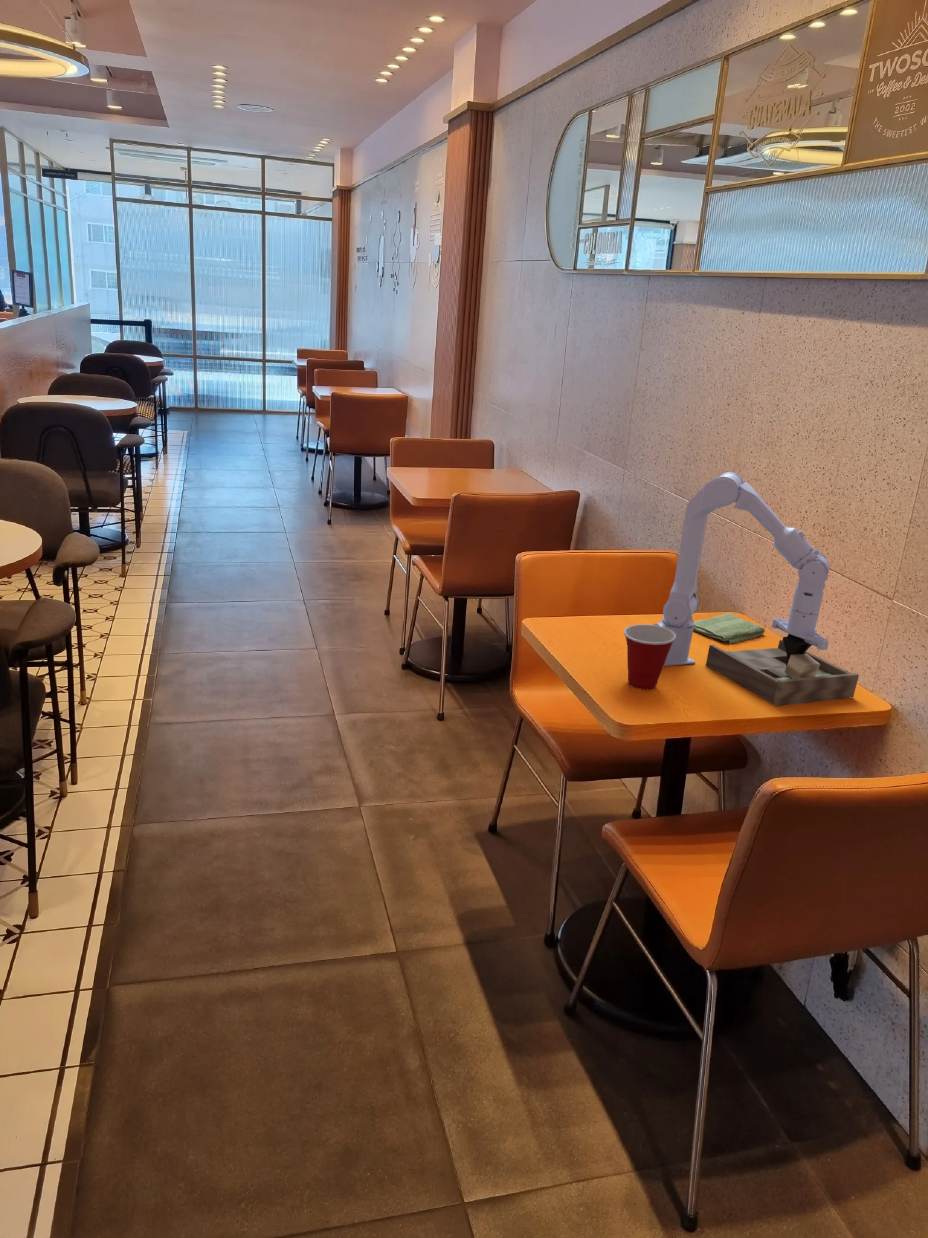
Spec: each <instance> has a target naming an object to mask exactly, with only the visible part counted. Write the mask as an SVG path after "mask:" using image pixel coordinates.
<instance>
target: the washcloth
mask: <svg viewBox="0 0 928 1238" xmlns="http://www.w3.org/2000/svg"><path fill="white" fill-rule="evenodd" d="M693 632H696V633H699V634H701V635H704V636H706V637H707V636H708V637H710V638H711V639H716V640H719V641H722V642H724V643H726V644H727V645H733V644H737V643H741V642H744V641H748V640H751V639H754V638H758V636H759V637H762V636H763V635H764V633H765V632H766V629H765V627H763V626H760V625H758V624H757V623H753V622H751V621H747V620H745V619H742V618H740V617H739V616H736V615H734V614H733V613H732V614H731V613H729V612H727V613H724V614H721V615H715V616H712V617H709V618H705V619H704V618H703V619H697V620H695V621H694V628H693ZM761 635H762V636H761Z"/></svg>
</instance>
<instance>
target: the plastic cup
mask: <svg viewBox="0 0 928 1238" xmlns="http://www.w3.org/2000/svg"><path fill="white" fill-rule="evenodd" d="M623 635H624V636H625V640H626V646H627V650H626V651H627V654H626V655H627V681H628V682H629V683H628V684H629V685H630V686H631V685H632V686H631V687H633V688H635V687H636V689H638V688H641V689H640V690H644V691H645V690H646V689H647V690H653V689H655V688H656V686H657V684H658V683H659V679H660V675H661V674H662V672H663V669H664V667H665V666H664V664H665V661H666V658H667V655H668V652H669V651H670V648H671V646H672V643H673V641H674V640H675V639H676V634H675V633H674V632H673V631H672V630H669V629H667V628H665V627H660V626H656V625H653V624H646V623H644V624H643V623H642V624H633V625H628V626H627V627H625V628H624V629H623ZM647 690H646V691H647Z"/></svg>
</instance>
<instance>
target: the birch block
mask: <svg viewBox="0 0 928 1238" xmlns="http://www.w3.org/2000/svg"><path fill="white" fill-rule="evenodd" d="M819 666H820V664H819V663H818V662H817V661H815V660H814V659H813V658H812V657H810V656H809V655H808V654H796V655H791V656H790V659H789V661H788V664H787V667H786V670H785V673H786V674H787V675H789V676H790V677H791V678H792V679H797V678H807V677H816V674H817V671H818V669H819Z"/></svg>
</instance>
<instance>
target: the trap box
mask: <svg viewBox="0 0 928 1238" xmlns="http://www.w3.org/2000/svg"><path fill="white" fill-rule="evenodd" d="M804 654H808V655H809V656H810V657H812V658H813V659H814V660H815V661H817V662H818V663H819V664H820V666H819V669H818V671H817V674H816V677H807V678H797V679H792V678H791V677H790V676H789V675H787V674H786V673H785V670H786V663H787V654H786V649H785V645H784V643H783V639H779V642H778V646H777V647H774V648H773V647H772V648H759V649H748V650H746V649H745V650H731V651H726V650H724V649H722V648H720V647H718V646H716V645H714V644H709V646H708V652H707V656H706V661H705V666H706V667H707V668H710V669H711V670H713V671H715V672H716V673H718V674H720V675H721V676H724V677H725V678H727V679H728V680H730V681H732V682H734V683H735V684H737V685H739V686H740V687H742V688H744V689H745V690H747V691H749V692H751V693H752V694H755V696H758V697H759V698H761V699H763V700H764V701H766V702H767V703H770V704H772V705H773V706H775V707H784V706H793V705H800V704H801V705H803V704H811V703H821V702H830V701H837V700H839V699H840V700H847V699H846V698H849V699H851V698H850V697H853V698H854V696H855V693H856V688H857V684H858V681H859V677H860V674H859V673H856V672H852V673H851V672H849V671H847V670H846V669H843V668H841V667H840V666H838V665H835V664H833V663H831V662H829V661H827V660H824V659H823V658H821V657H819V656H816V655H815V654H813V653H811V652H809V651H808V650H807V651H806V652H805V653H804ZM840 700H839V701H840Z"/></svg>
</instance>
